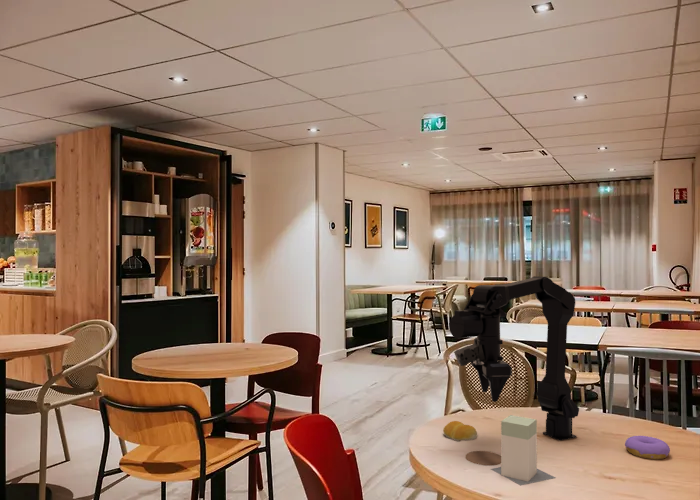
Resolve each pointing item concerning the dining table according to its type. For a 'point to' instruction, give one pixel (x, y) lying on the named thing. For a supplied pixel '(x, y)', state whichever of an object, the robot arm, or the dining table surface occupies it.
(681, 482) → the dining table surface
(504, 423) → the carton
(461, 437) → the bread roll
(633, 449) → the donut
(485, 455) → the disc
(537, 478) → the mat
